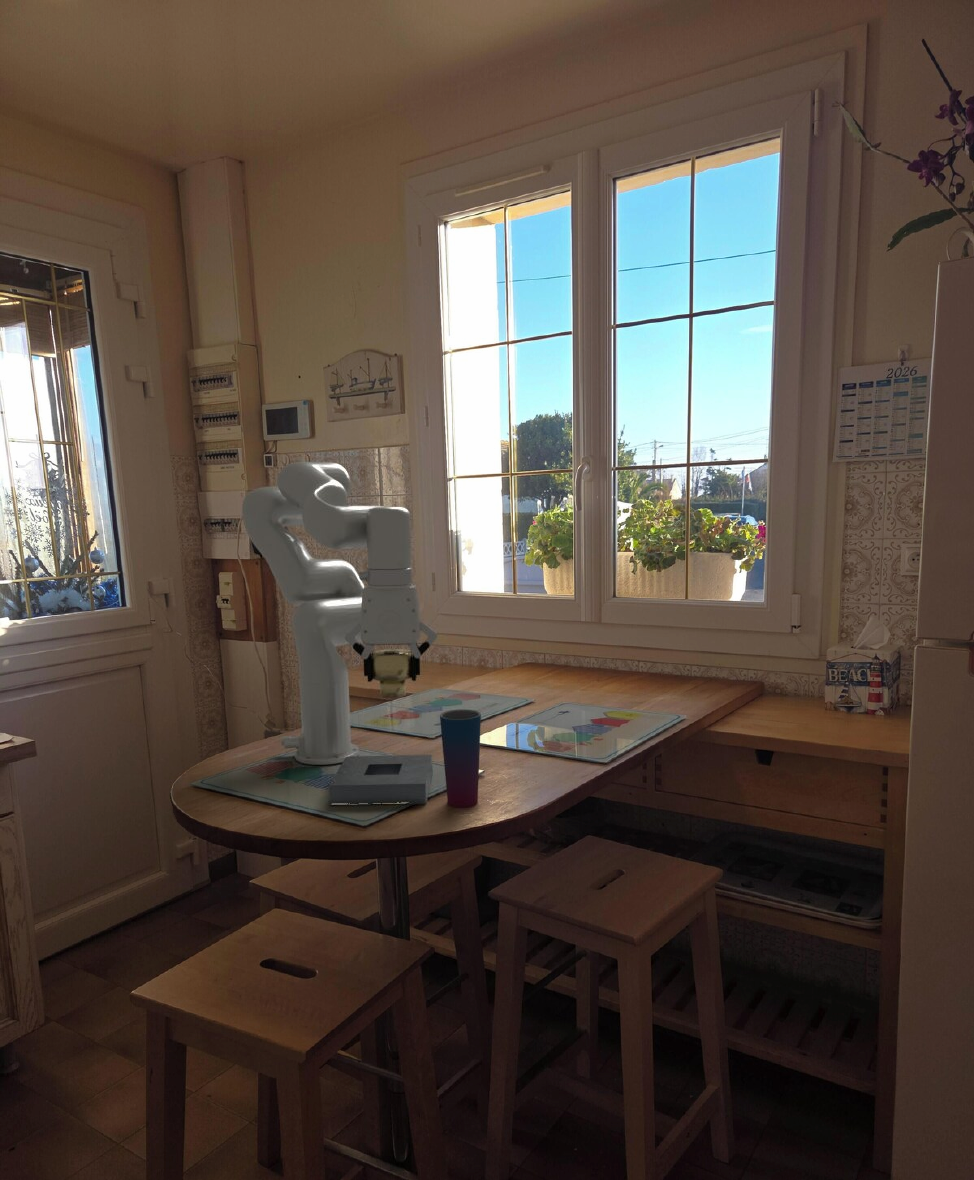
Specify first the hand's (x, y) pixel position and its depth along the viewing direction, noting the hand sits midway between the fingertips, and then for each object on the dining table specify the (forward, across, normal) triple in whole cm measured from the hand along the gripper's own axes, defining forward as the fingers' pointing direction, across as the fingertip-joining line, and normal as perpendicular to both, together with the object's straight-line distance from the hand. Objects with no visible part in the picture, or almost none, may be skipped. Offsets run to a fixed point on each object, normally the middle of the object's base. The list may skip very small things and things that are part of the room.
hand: (392, 678), depth 142 cm
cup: (+19, +12, -9) cm, 24 cm away
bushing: (+3, 0, 0) cm, 3 cm away
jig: (+19, -2, -1) cm, 20 cm away
